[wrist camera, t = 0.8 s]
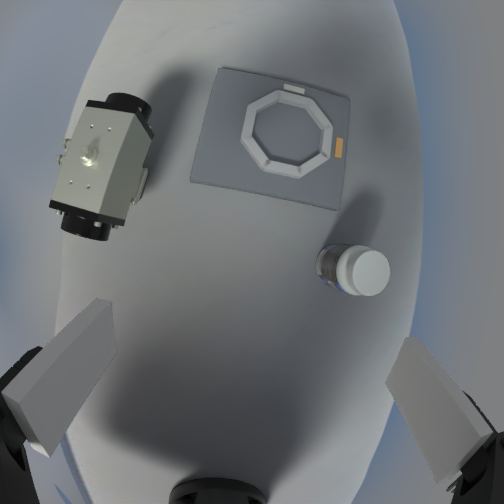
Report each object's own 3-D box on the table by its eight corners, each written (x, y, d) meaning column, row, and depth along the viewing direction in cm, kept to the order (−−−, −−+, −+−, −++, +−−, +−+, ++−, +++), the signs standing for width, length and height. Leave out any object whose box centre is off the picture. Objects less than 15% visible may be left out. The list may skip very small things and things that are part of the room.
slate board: (335, 210, 31) (343, 208, 29) (190, 182, 29) (188, 177, 27) (346, 103, 30) (353, 96, 28) (218, 73, 29) (218, 63, 26)
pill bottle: (312, 285, 31) (344, 300, 22) (316, 242, 31) (350, 243, 22) (350, 287, 31) (390, 301, 23) (355, 246, 31) (396, 248, 23)
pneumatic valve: (167, 138, 28) (142, 83, 16) (134, 241, 28) (84, 242, 16) (124, 129, 28) (82, 77, 16) (91, 228, 28) (28, 222, 16)
